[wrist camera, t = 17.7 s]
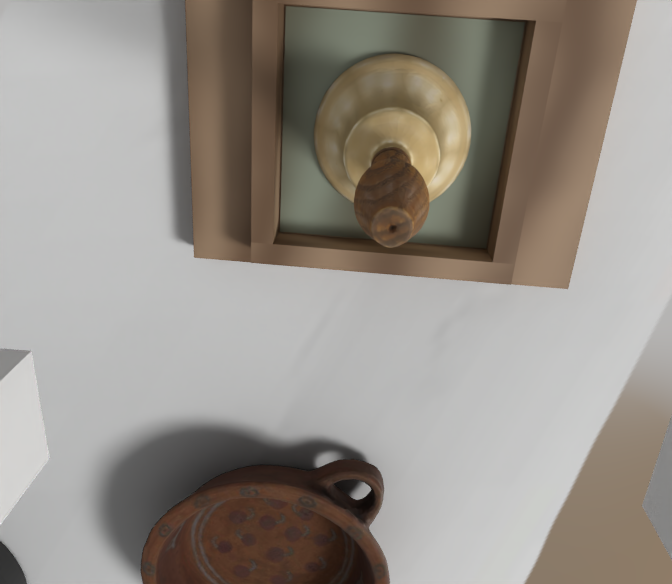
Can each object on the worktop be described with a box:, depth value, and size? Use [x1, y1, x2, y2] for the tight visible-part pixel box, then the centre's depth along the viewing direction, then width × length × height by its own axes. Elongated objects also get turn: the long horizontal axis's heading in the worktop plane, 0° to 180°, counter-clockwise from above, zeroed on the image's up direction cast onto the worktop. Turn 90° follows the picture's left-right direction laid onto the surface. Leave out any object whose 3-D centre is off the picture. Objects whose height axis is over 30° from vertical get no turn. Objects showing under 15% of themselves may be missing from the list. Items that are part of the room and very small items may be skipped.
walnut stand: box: [185, 0, 637, 289], centre depth 33 cm, size 22×16×4 cm
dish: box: [141, 459, 390, 584], centre depth 45 cm, size 18×22×5 cm
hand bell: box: [314, 54, 471, 248], centre depth 26 cm, size 8×8×16 cm
